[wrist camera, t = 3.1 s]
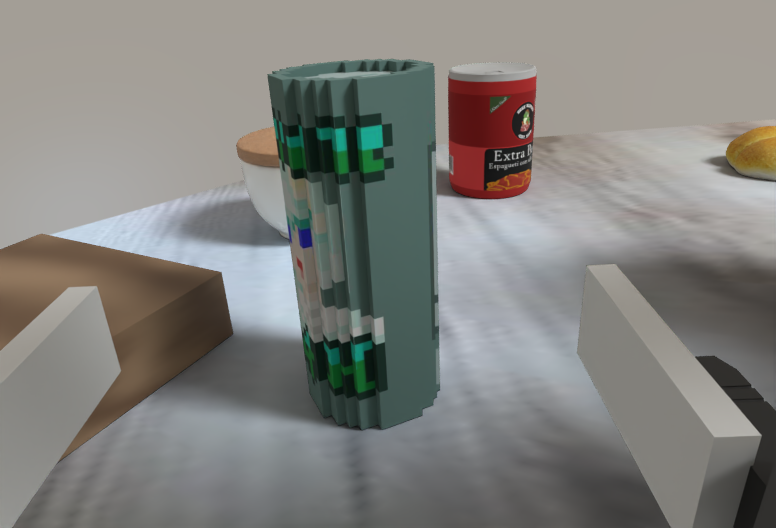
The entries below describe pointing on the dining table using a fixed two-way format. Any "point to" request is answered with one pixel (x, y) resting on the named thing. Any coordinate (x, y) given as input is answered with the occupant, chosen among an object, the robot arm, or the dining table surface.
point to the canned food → (491, 128)
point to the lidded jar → (264, 176)
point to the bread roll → (754, 153)
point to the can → (363, 232)
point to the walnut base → (119, 312)
